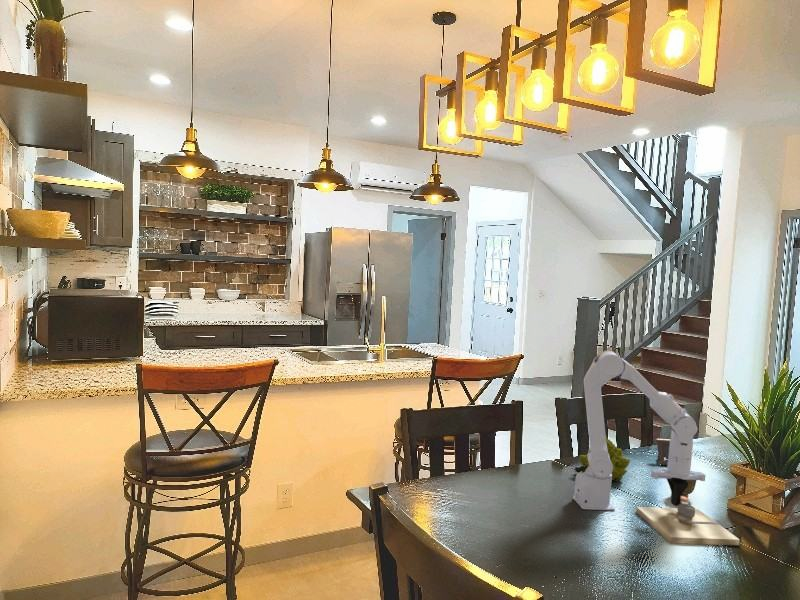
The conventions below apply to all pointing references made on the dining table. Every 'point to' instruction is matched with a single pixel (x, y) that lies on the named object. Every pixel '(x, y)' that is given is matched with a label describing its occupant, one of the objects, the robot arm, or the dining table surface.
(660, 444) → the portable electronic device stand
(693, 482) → the cup
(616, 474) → the vegetable
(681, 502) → the lock lever
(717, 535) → the base
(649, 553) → the dining table surface
